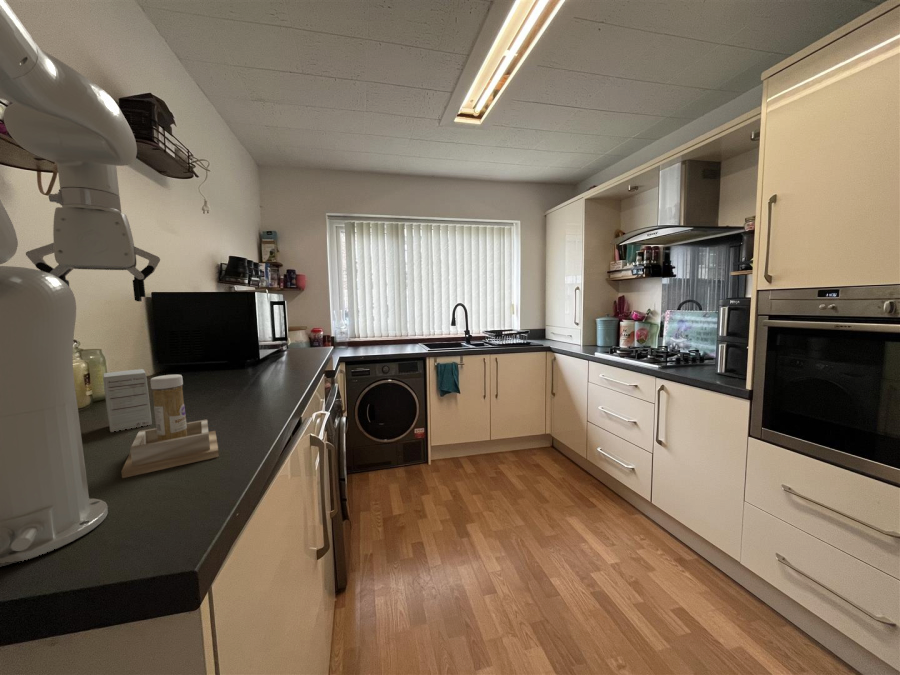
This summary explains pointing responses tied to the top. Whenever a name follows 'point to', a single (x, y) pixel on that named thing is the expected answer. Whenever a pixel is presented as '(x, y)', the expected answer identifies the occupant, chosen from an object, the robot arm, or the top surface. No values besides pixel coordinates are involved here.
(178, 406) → the sprinkles bottle
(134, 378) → the supplement box
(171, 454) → the socket board
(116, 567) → the top surface
